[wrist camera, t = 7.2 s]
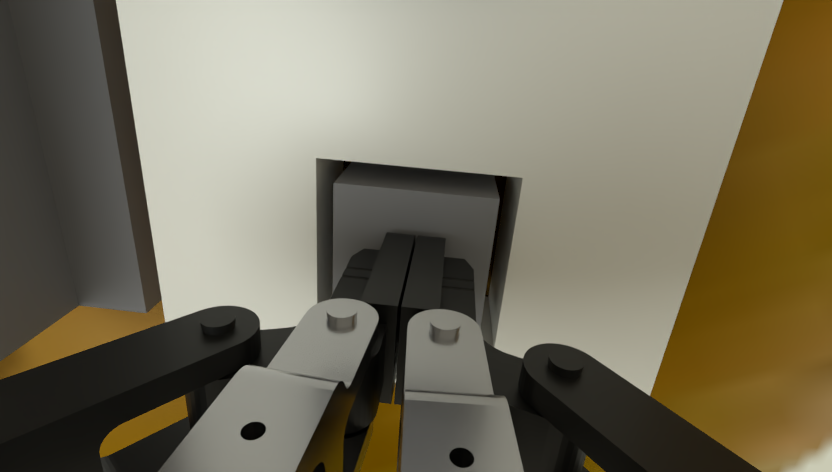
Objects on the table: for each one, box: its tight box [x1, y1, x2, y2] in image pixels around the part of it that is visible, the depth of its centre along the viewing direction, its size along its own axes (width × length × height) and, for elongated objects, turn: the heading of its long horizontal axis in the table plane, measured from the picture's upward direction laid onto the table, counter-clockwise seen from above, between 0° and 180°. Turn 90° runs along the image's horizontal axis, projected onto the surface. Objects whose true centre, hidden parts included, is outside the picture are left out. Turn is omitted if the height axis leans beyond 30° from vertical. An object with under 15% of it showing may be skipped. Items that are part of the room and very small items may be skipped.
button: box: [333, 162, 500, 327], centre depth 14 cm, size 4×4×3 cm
